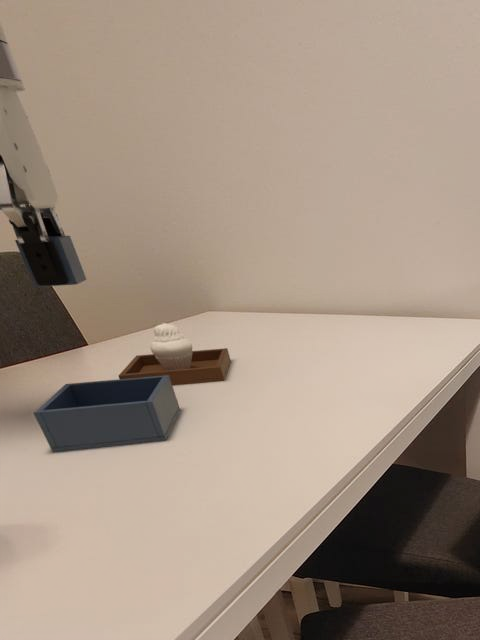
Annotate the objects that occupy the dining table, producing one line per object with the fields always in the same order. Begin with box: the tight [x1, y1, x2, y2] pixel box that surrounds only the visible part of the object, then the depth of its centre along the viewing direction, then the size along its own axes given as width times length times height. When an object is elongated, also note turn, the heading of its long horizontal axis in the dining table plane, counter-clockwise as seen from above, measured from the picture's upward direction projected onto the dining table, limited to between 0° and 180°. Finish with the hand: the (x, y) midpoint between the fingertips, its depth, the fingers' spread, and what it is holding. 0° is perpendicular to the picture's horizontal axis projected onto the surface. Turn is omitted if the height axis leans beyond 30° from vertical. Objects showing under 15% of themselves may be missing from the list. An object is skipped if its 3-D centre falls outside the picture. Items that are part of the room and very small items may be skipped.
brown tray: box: [118, 347, 232, 386], centre depth 94 cm, size 15×14×2 cm
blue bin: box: [33, 375, 181, 454], centre depth 72 cm, size 12×12×5 cm
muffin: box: [149, 322, 193, 370], centre depth 92 cm, size 6×6×7 cm
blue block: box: [14, 235, 87, 288], centre depth 68 cm, size 4×4×4 cm
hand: (59, 279), depth 69 cm, fingers closed on blue block, 4 cm apart
